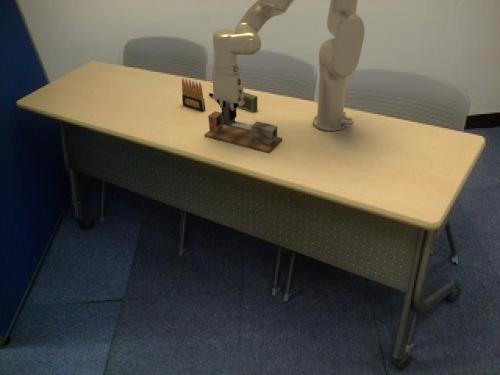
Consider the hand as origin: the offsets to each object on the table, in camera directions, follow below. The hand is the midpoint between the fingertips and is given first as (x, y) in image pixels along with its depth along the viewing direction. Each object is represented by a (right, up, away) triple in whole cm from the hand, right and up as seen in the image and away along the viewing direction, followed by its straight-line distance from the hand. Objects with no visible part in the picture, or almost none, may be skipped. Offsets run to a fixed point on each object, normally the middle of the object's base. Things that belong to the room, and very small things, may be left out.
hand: (229, 117), depth 170 cm
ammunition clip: (-15, +7, +24) cm, 29 cm away
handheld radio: (0, +9, +26) cm, 27 cm away
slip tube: (+3, -4, +1) cm, 5 cm away
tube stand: (+5, -7, +2) cm, 9 cm away
